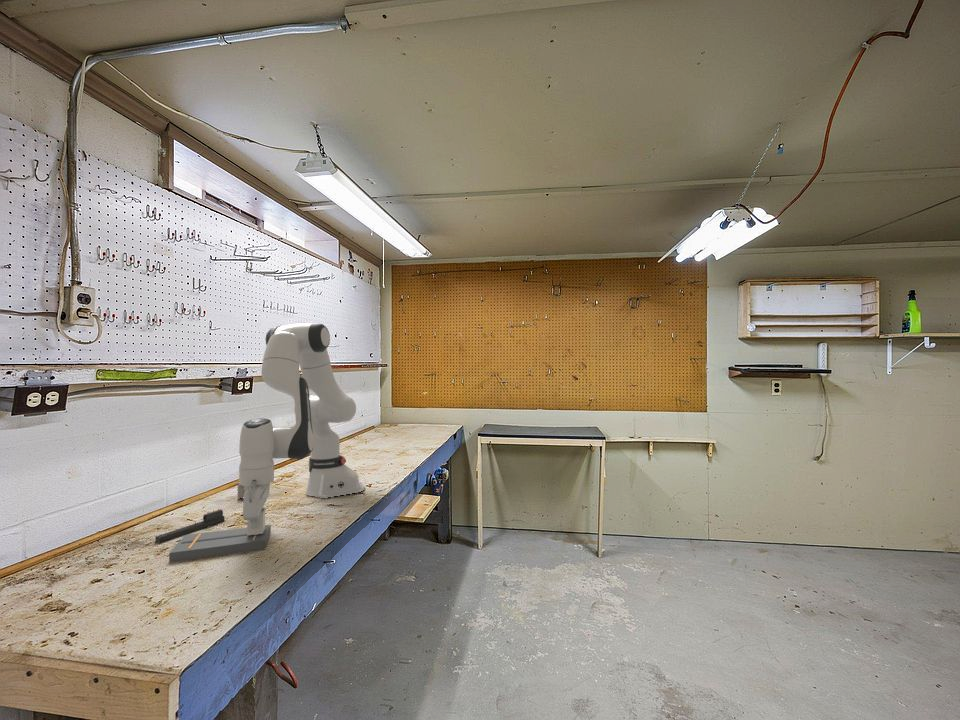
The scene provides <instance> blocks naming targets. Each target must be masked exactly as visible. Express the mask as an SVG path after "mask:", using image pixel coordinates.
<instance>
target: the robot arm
mask: <svg viewBox="0 0 960 720" xmlns="http://www.w3.org/2000/svg"><path fill="white" fill-rule="evenodd" d="M330 342H331V335H330V331H329V329H328V327H326V326H325V325H324V324H323V323H320V322H319V323H318V322H312V323H310V322H309V323H306V322H305V323H302V322H301V323H294V324H285V325H282V326H281V325H277V326H275V327H271V328H270V329H269V330H268V331H267V333H266V335H265V344H266V345H265V346H266V347H265V351H264V353H263V357H262V363H261V378H262V380H263V381H264V383H265V384H266V385H267V387H269V388H271V389H273V390H275V391H278V392H280V393H283V394H286V395H288V396H290V397H292V398H293V401H294V415H295V424H294V426H273V422H272V420H271V419H269V418H255V419H249V420H247V421H246V422H244V423H242V427H241V430H240V438H239V451H238V453H239V456H240V463H239V467H238V470H239V471H238V472H239V473H238V481H239V482H238V483H239V485H241V486H244V490H245V493H244V498H243V504H242V505H243V507H242V518H243V520H244V521H247V520H250V522H251V529H257V528H258V526H259V520H258V517H259V515H260V512H261V510H262V508H264V506H265V504H266V502H267V499H268V498H269V494H270V486H271V483H272V482H274V480H275V462H274V459H289V460H290V459H291V460H292V459H293V460H304V459H305V458H307V456H308V455H310V457H309V459H308V472H309V477H308V483H307V488H306V491H305V495H306V494H307V495H306V496H308V495H309V496H308V497H311V496H315V497H314V498H319V497H320V498H319V499H322V498H325V499H329V498H328V497H331V498H335V497H334V496H338V497H341V496H340V495H344V496H347V495H346V494H350V495H353V494H352V493H357V492H361V491H363V490H364V491H365V489H364V487H365V484H364V483H363V482H360V479H359V476H358V473H357V471H356V470H354V469H352V468H351V467H349V466H347V465H346V463H347V459H346V458H345V457H344V455H340V451H341V450H340V443H341V441H340V436H339V434H338V433H337V432H335V431H334V430H333V429H332V428H331V426H330V424H329V423H331V424H333V423H334V424H339V423H345V422H350V421H351V420H352V419H354V417H355V415H356V411H357V405H356V402H355V401H354V399H353V398H352V397H350V396H349V395H347V394H346V393H345V391H343V390H342V389H341V388H340V386H339V384H338V382H337V381H336V379H335V375H334V373H333V368H332V363H331V360H330V356H329V352H328V349H327V348H328V347H329V346H330ZM300 371H301V372H300ZM300 373H301V374H300ZM310 391H312V392H313V393H314V394H310ZM364 491H363V492H364ZM361 493H362V492H361ZM357 494H358V493H357Z"/></svg>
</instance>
